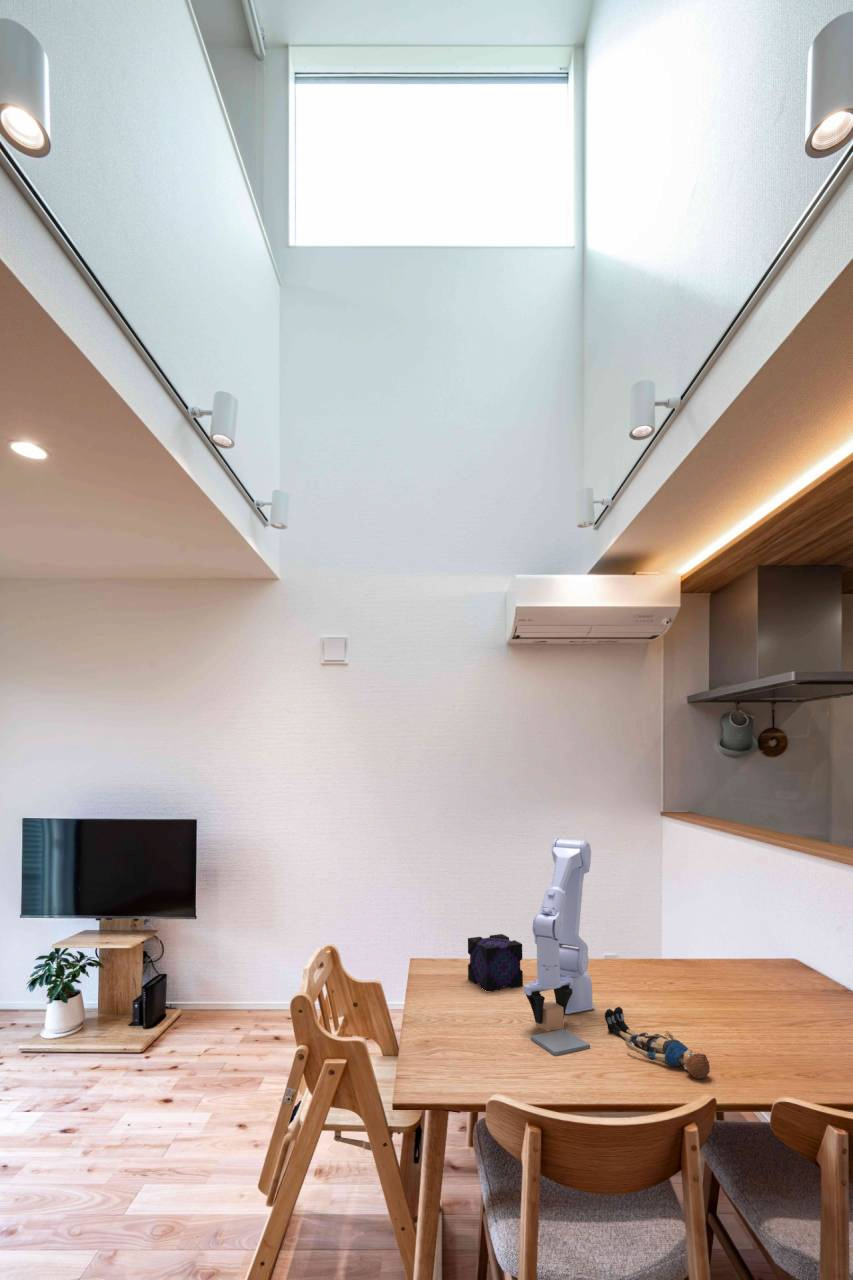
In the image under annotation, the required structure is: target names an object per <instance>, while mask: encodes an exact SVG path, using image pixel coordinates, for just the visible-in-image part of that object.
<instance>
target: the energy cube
mask: <svg viewBox="0 0 853 1280" xmlns="http://www.w3.org/2000/svg"><path fill="white" fill-rule="evenodd" d="M467 954H469V963H468V964H467V976H468V977H467V980H468V981H470V982H471V983H473V984H475V985H477V984H478V985H479V988H480V987H481V988H480V989H482V988H483V989H484V991H485V990H486V991H491V992H496V991H495V990H497V991H500V990H501V988H508V987H509V988H508V989H516V988H522V987H524V984H523V983H524V982H523V980H524V973H523V972H524V971H523V970H522V969H521V961H522V960H523V943H521V942H519V941H517V940H516V939H514V940H510V937H509V936H507V935H504V934H503V933H500V934H491V935H489V937H482V936H477V937H467ZM515 987H516V988H515ZM483 989H482V990H483ZM486 991H485V992H486Z"/></svg>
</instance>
